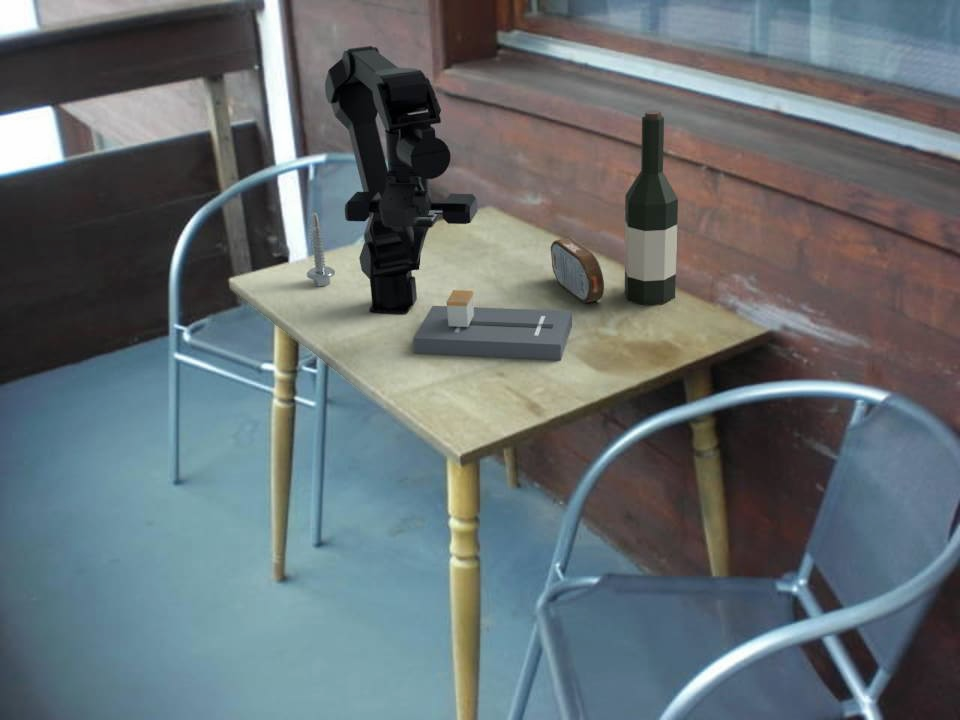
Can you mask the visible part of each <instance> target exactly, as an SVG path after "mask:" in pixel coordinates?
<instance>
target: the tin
mask: <svg viewBox="0 0 960 720" xmlns="http://www.w3.org/2000/svg"><path fill="white" fill-rule="evenodd" d="M550 256H551V267H552V271H553V273H554V277H555V278H556V280H557V282H558V283H559V284H560V286H561V287H563V288H564V290H566V291H567V292H568V293H570V294H571V295H572V296H573V297H575V298H576V299H577V300H578V301H580V302H581V303H583V304H584V303H585V304H586V303H591V302H596V301H600V300H601V299H602V298H603V295H604V291H605V282H604V276H603V271H602V268H601V264H600V262H599V261H598V259H597V257H596V255H594V253H593V252H591V250H589V249H588V248H586V247H585V246H583V245H582V244H581V243H580V242H578V241H577V240H575V239H574V238H573V237H571V236H566V237H564V238H559V239H557V240H554V241H553V242H552V243H551V245H550Z"/></svg>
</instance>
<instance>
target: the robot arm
mask: <svg viewBox="0 0 960 720" xmlns="http://www.w3.org/2000/svg"><path fill="white" fill-rule="evenodd" d="M326 74H327V75H326V79H325V82H324V92H325V97H326V100H327V102H328V104H330V105H331V108H332V111H333V114H334V117H335V118H336V119H337V120H338V121H339V122H340V123H341V124H342V125H343V126H344V127H345V128H346V129H347V130H348V134H349V138H350V142H351V145H352V147H351V148H352V150H353V154H354V159H355V164H356V166H357V171H358V174H359V179H360V183H361V188H362V191H356V192H355V193H354V194H353V195H352V196H351V197H350V198H349V199H348V200H347V202H346V203H344V204H345V205H344V216H345V218H344V219H345V221H347V222H366V221H367V224H366V227H365V230H364V233H363V239H364V243H363V246H362V248H361V252H360V255H359V257H358V259H359V263H360V268H361V271H362V273H363V274H364V275H365V276H366V277H367V278H368V279H369V283H370V284H369V285H370V293H371V294H370V296H371V305H370V307H369V308H368V310H369V312H370V313H387V314H388V313H389V314H391V313H392V314H408V313H409V311H410V310H411V309H412V307H413V306H414V305H415V303H416V302H417V299H418V296H417V285H416V284H417V283H416V277H415V276H414V275H413V273H412V271H419V270H420V266H421V257H422V255H421V254H422V252H423V251H422V250H423V248H424V244H425V241H426V240H425V239H426V237H427V234H428V231H429V229H431V228H433V226H434V225H435V224H436V223H437V221H438V220H439V218H440V217H441V215H442V219H443V220H444V221H445V222H446V223H447V224H450V225H451V224H452V225H467V224H470V223H471V222H472V221H473V219H474V218H475V216H476V214H477V213H478V199H477V198H476V196H475V195H474V194H473V193H449V195H447V198H446V199H445V200H431V197H432V189H431V188H430V180H433V179H437V178H439V177H440V176H442V175H443V174H444V173H445V172H446V171H447V170H448V167H450V166H449V165H450V163H451V152H450V149H449V147H448V145H447V144H446V142H445V141H443V140H442V139H441V138H440V137H438V136H436V129H435V128H434V127H433V126H432V125H437V124H441V123H442V119H441V116H440V115H441V111H442V109H441V106H440V103H439V101H438V98H437V95H436V93H435V89H434V87H433V85H432V84H431V81H430V79H429V78H428V77H427V76H426V75H425V74H424V72H423V71H422V70H421V69H417V68H411V67H408V68H407V67H402V68H401V67H398V66H396V65H395V64H394V63H393V62H391V60H389V59H388V58H386V57H385V56H384V55H382V54H381V53H380V51H379V49H378V47H377V46H372V45H367V46H359V47H357V46H356V47H352V48H348V49H347V50H344V51H343V52H342V56H341V59H340V60H338V61H337V62H335V64H333V65H332V66H331V67H330V68H329V69H328V71H327V73H326ZM377 116H379V118H380V120H381V123H382V126H383V127H384V136H385V147H386V156H385V154H384V149H383V144H382V140H381V137H380V133H379V128H378V125H377V120H376V119H377ZM386 158H387V159H386ZM386 161H387V162H386Z"/></svg>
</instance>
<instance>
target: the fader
mask: <svg viewBox="0 0 960 720" xmlns="http://www.w3.org/2000/svg"><path fill="white" fill-rule="evenodd" d="M445 302H446V306H447V311H448V326H456V327H468V326H469V324H470V322H471V320H472V318H473V316H474V307H475V306H474V290H461V289H459V290H458V289H454V290H452V291H451V293H450V295H449V297H448V299H447V300H446V301H445Z"/></svg>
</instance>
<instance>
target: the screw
mask: <svg viewBox="0 0 960 720" xmlns="http://www.w3.org/2000/svg"><path fill="white" fill-rule="evenodd" d="M309 229H310V233H311V234H310V236H311V238H310V239H311V243H312V244H311V246H312V248H311V249H313V250H312V252H313V254H312V255H313V259H314V260H313V262H314V264H313V265H314V267H313V268H310V269H309V270H308V271H307V272H306V277H307V278H308V279H311V280H313V285H314V286H316V287H318V288H319V287H320V288H321V287H326V286H328V285H329V284H331V279H330V278H332V277H334V276H335V275H336V271H335V269H334V268H333V267H330V266H326V264H325V263H326V261H325V259H326V258H325V254H324V252H325V251H324V244H323V243H324V241H322V240H323V238H322V236H323V234H322V228H321V224H320V223H319V216H318V213H316V212H315V211H313V212H312V213H311V214H310V228H309Z"/></svg>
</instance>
